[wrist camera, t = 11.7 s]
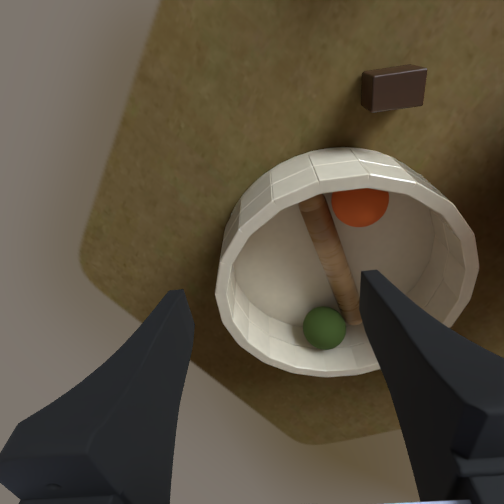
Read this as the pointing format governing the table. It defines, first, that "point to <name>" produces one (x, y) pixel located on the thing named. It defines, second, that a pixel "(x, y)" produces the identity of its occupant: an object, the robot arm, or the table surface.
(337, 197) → the orange ball
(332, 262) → the stick
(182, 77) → the table surface
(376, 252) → the cream shallow round container
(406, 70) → the stick rest
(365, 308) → the robot arm
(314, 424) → the table surface
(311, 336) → the green ball
